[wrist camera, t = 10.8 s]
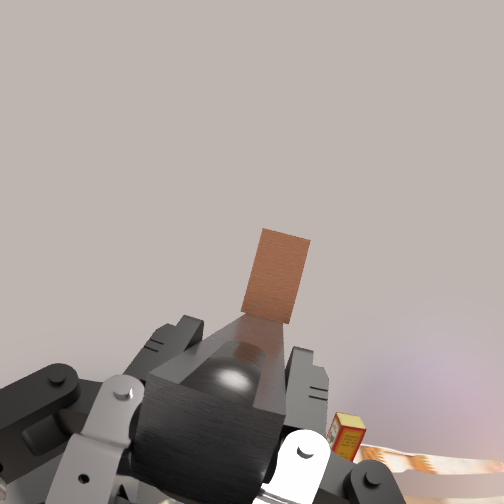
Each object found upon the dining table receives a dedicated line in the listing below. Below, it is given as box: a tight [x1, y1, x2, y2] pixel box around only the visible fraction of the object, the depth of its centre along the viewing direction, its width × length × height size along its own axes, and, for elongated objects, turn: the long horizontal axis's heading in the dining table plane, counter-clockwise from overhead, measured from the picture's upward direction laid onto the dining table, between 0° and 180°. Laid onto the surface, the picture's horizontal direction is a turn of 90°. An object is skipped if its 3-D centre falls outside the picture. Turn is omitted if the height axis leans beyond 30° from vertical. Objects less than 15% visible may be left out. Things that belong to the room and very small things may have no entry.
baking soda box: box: [326, 412, 366, 462], centre depth 70 cm, size 10×6×16 cm
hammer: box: [128, 228, 310, 504], centre depth 18 cm, size 23×4×10 cm, turn 174°
